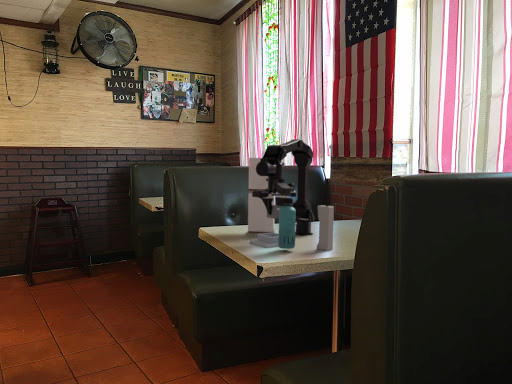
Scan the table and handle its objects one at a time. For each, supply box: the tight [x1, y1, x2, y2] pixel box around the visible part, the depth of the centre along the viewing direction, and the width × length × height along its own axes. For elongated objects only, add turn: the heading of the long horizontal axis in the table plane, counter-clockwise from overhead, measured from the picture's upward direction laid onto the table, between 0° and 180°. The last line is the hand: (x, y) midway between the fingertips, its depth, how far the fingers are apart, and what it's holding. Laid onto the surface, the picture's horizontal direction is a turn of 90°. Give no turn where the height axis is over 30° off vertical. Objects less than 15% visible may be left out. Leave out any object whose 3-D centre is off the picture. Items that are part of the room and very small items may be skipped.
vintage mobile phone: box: [316, 184, 335, 252], centre depth 150 cm, size 4×5×25 cm
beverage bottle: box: [277, 197, 297, 250], centre depth 146 cm, size 6×7×20 cm
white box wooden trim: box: [247, 157, 276, 237], centre depth 181 cm, size 11×11×35 cm
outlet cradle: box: [249, 231, 279, 249], centre depth 160 cm, size 14×12×4 cm
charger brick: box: [267, 204, 283, 220], centre depth 159 cm, size 4×5×5 cm
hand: (274, 214), depth 159 cm, fingers closed on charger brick, 4 cm apart
